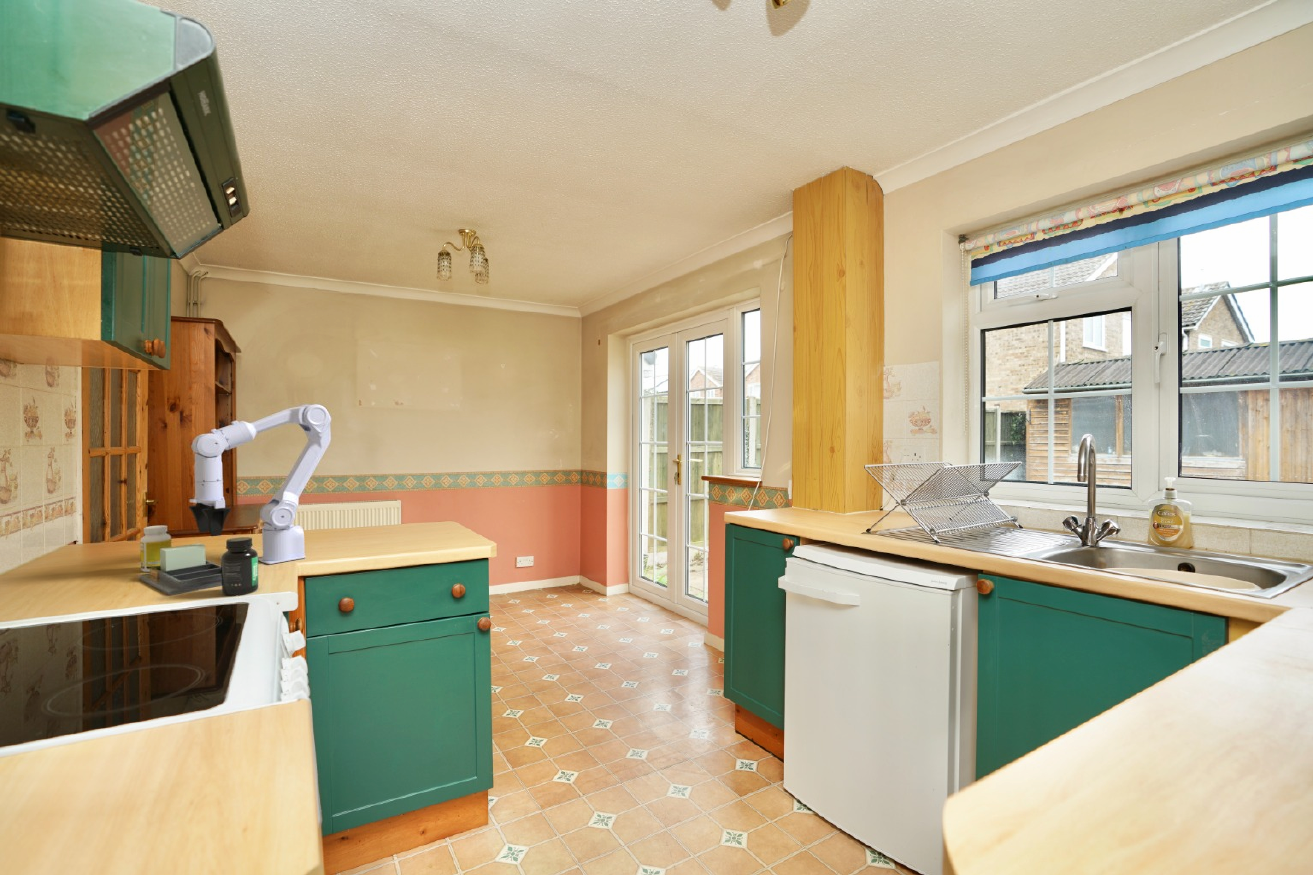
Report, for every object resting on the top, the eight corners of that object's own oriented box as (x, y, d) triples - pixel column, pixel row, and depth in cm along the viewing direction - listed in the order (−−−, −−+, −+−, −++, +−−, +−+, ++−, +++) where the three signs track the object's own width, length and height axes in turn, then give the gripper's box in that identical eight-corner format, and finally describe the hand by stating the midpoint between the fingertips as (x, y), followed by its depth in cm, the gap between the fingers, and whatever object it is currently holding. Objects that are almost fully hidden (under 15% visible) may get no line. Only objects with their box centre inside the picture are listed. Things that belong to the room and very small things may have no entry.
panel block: (199, 566, 155) (199, 543, 155) (205, 568, 153) (205, 545, 152) (160, 573, 149) (160, 548, 148) (166, 575, 146) (165, 551, 146)
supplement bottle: (264, 590, 139) (263, 537, 138) (232, 598, 133) (230, 543, 132) (248, 585, 142) (247, 534, 141) (215, 593, 136) (214, 540, 135)
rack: (212, 566, 159) (212, 557, 159) (246, 580, 146) (246, 570, 146) (139, 579, 147) (138, 568, 147) (169, 595, 134) (169, 584, 134)
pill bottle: (178, 566, 159) (177, 524, 159) (156, 572, 153) (155, 529, 152) (156, 566, 160) (155, 524, 159) (134, 572, 153) (133, 528, 153)
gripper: (179, 480, 156) (181, 532, 156) (200, 484, 147) (202, 539, 148) (212, 477, 161) (213, 528, 162) (234, 481, 153) (235, 535, 153)
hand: (210, 533), depth 155 cm, fingers open, 7 cm apart
